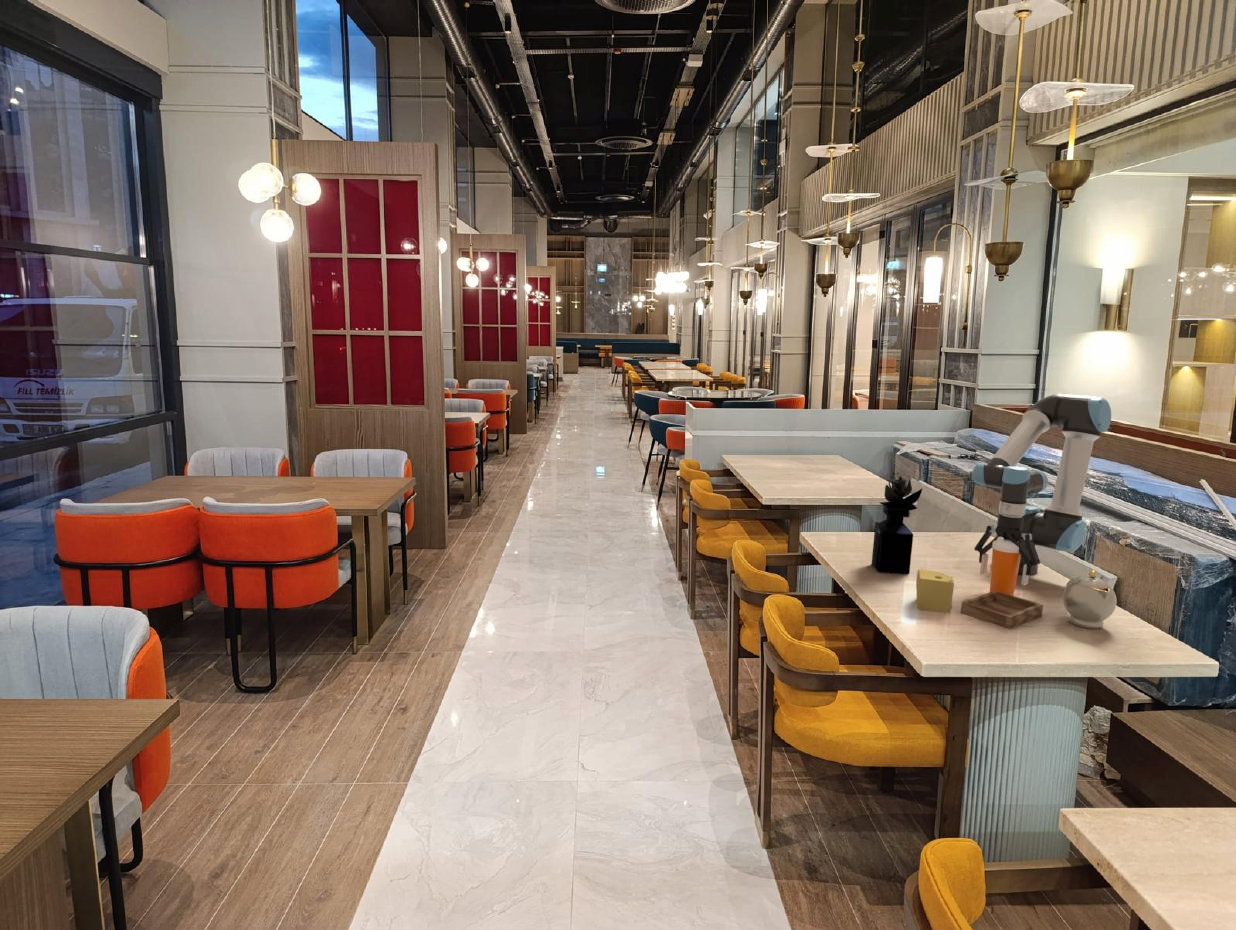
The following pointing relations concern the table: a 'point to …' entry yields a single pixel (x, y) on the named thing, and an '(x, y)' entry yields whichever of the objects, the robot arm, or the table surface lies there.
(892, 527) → the vase
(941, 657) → the table surface
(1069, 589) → the teapot
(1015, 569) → the shaker bottle
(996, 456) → the robot arm
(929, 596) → the cheese
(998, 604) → the tray
